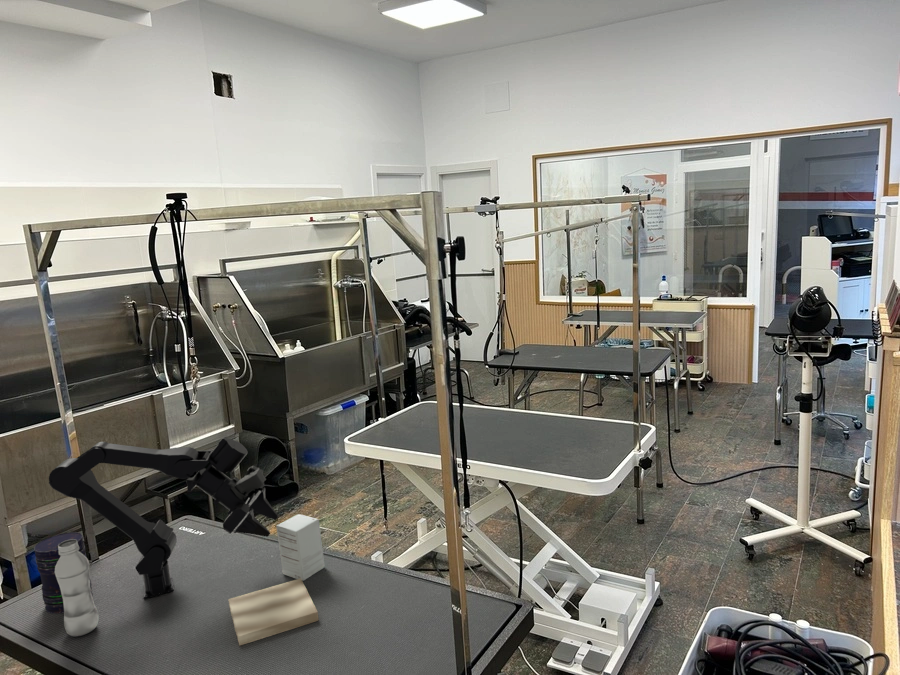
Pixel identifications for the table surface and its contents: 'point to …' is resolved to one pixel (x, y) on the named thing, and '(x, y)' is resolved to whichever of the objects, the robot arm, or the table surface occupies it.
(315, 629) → the table surface
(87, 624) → the plastic bottle
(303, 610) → the ash board
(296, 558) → the supplement box
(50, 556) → the storage jar
